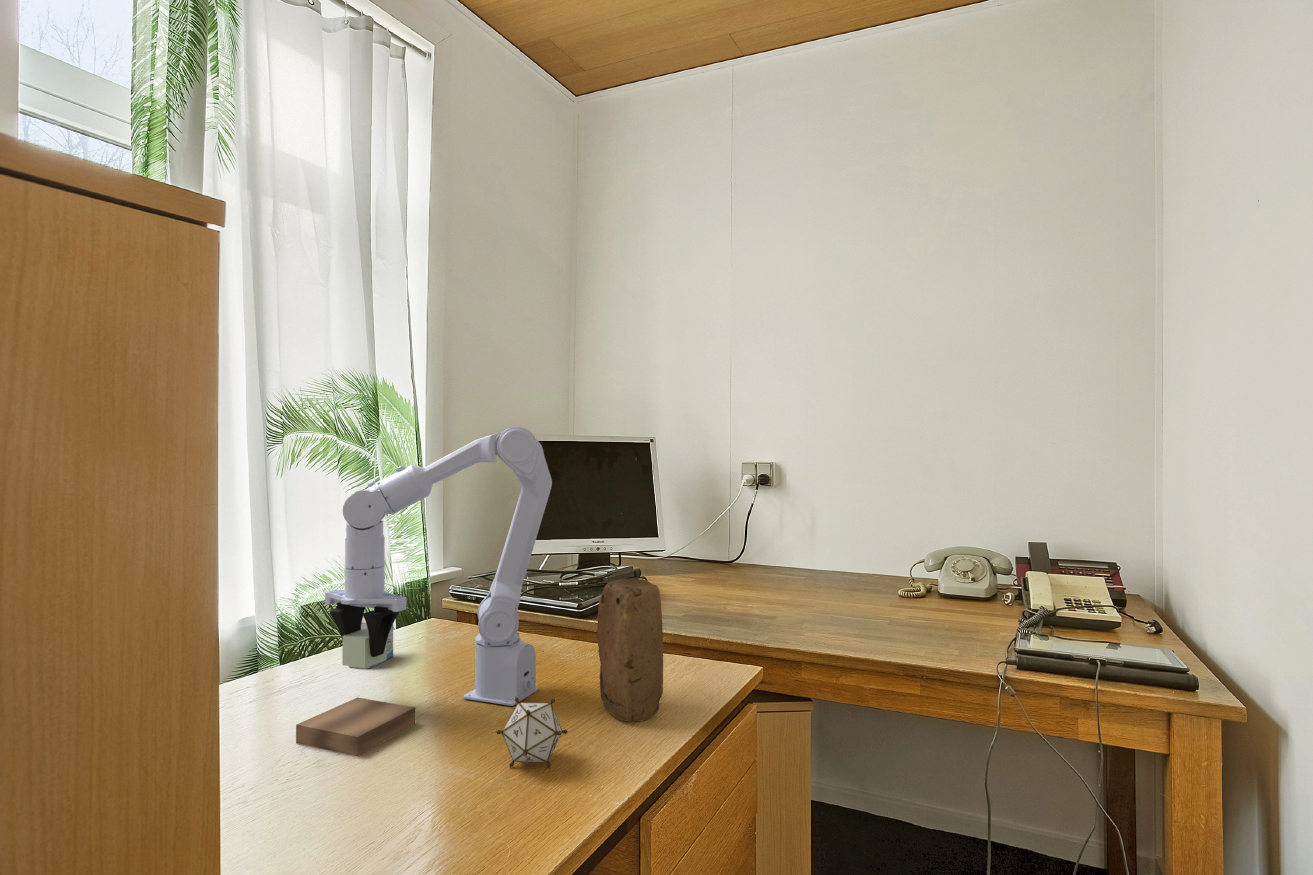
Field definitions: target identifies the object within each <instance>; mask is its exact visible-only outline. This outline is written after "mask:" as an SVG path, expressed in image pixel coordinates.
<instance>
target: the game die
mask: <svg viewBox="0 0 1313 875" xmlns="http://www.w3.org/2000/svg"><path fill="white" fill-rule="evenodd" d="M515 701H516V703H517V704H515V707H514V709H513V710H512V712H511V714H510V716H509V718H508V719H507V721H506V723H505V725H504V726H503V729H502V730H501V729H497V730H496V731H495V732H494V733H495V734H497V735H502V738H503V740H504V742H505V745H506V748H507V749H508V752H509V754H510V757H511V761H510V763H509V769H510V768H512V767H514V766H515V763H546V767H547V768H549V769H550V770H551V767H552V764H551V762H550V761H549V760H550V759H551V757H552V755H553V753H554V751H555V749H556V747H557V744H558V742H559V740H560V738H561V737H562V735H566V734H567V733H569V731H568V730H567V729H562V726H561V724H560V721H559V719H558V716H557V714H556V711H555V708H554V705H553V704H554V703H555V702H556V697H552V698H551V699H550V702H533V701H532V702H526V701H520V702H519V698H517V697H515Z"/></svg>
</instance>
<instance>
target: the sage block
mask: <svg viewBox="0 0 1313 875" xmlns="http://www.w3.org/2000/svg"><path fill="white" fill-rule="evenodd" d="M341 659H342V663H341V664H342V666H346V667H349V666H351V667H350V668H352V667H358V668H357V669H365V668H368V667H370V666H373V665H375V664H377V665H379V664H381V663H384V661H387V660H388V659H387V642H386V646H385V650H384V654H381V655H379V656H376V657H371V654H370V645H369V632H368V629H362V630H359V631H356V632H353V633H350V634H347V635H344V636H343V640H342V658H341ZM380 662H381V663H380ZM378 663H379V664H378Z"/></svg>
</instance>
